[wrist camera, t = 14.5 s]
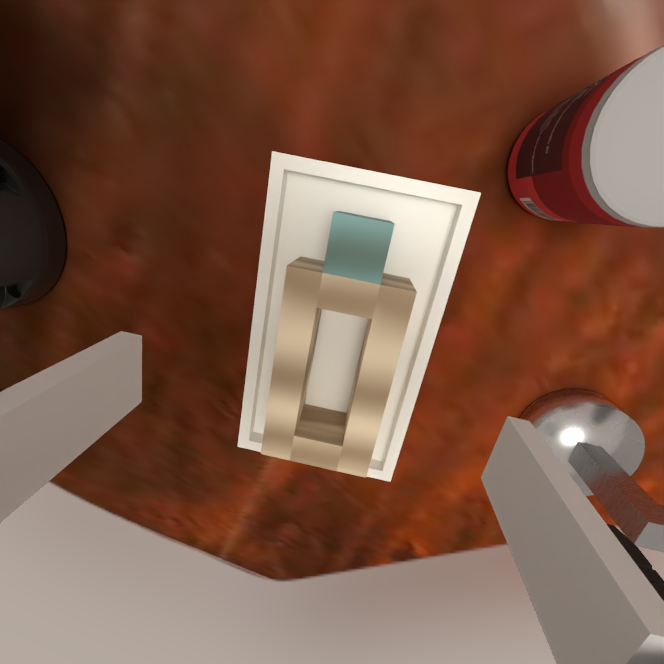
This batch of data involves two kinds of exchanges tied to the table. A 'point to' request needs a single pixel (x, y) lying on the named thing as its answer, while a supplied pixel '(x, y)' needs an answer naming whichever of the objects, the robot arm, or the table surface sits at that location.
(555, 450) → the grey piece
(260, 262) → the tray
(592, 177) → the canned food
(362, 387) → the beige hollow block
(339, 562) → the table surface
